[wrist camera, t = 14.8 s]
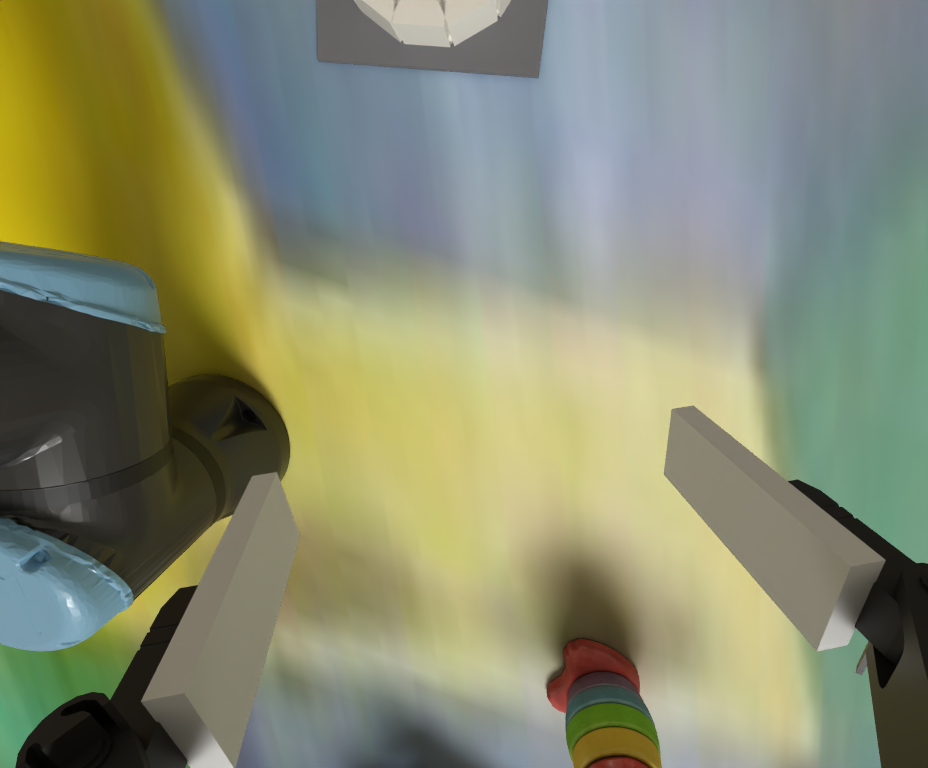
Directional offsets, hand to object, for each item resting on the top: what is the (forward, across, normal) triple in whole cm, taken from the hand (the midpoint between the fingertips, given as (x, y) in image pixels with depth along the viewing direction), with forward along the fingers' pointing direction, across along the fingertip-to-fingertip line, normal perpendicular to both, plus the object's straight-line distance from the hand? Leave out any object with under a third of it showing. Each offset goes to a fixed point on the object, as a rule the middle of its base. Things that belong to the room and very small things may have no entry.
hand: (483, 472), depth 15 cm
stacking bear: (+18, +13, -47) cm, 52 cm away
